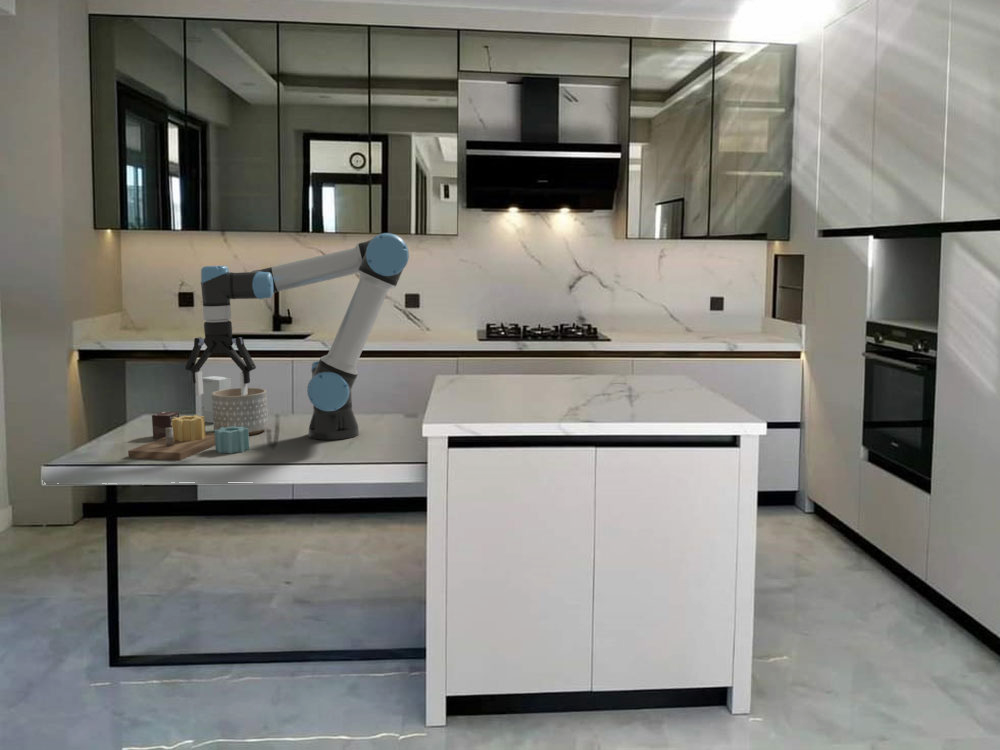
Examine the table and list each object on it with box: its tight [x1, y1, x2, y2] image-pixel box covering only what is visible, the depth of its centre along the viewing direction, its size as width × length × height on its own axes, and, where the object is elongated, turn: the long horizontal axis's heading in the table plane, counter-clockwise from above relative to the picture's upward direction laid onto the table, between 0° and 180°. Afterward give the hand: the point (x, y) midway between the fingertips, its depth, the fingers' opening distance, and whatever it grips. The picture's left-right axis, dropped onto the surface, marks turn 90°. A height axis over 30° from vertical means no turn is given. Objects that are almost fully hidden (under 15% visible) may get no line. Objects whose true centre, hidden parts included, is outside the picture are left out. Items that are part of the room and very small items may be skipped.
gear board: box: [127, 428, 215, 461], centre depth 268 cm, size 16×26×7 cm, turn 167°
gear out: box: [171, 414, 206, 442], centre depth 273 cm, size 9×9×6 cm
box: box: [151, 411, 180, 440], centre depth 285 cm, size 6×6×7 cm
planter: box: [212, 387, 269, 436], centre depth 291 cm, size 16×16×13 cm
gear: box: [214, 426, 250, 454], centre depth 266 cm, size 9×9×6 cm
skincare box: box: [200, 375, 232, 424], centre depth 308 cm, size 8×6×15 cm
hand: (222, 394), depth 266 cm, fingers open, 13 cm apart
